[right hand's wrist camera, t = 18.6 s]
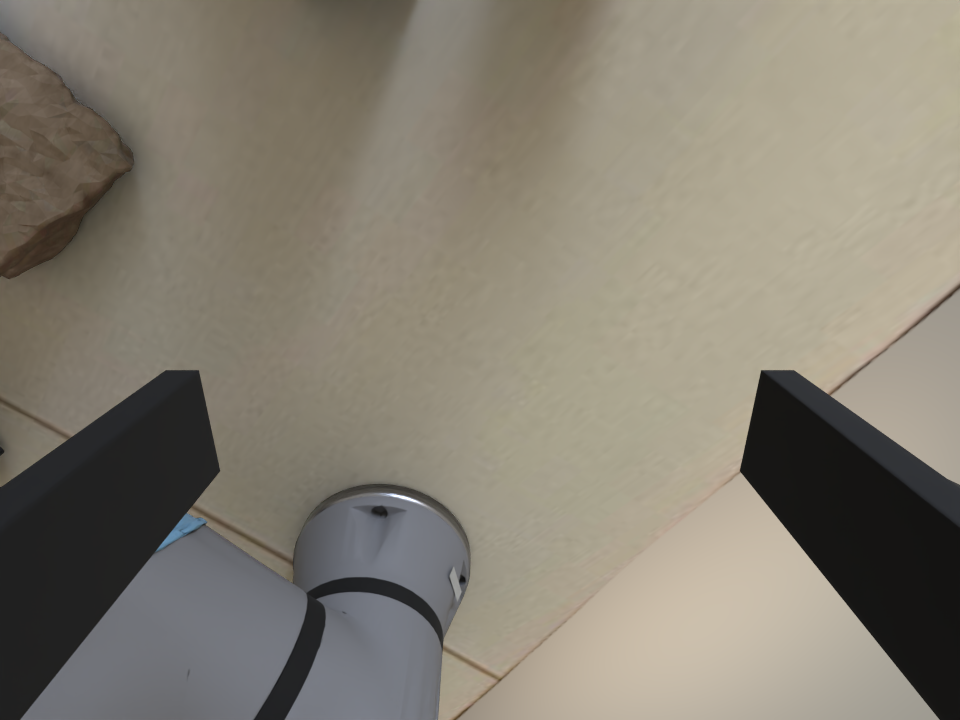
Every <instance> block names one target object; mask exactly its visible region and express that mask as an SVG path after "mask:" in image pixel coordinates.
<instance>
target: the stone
mask: <svg viewBox="0 0 960 720" xmlns="http://www.w3.org/2000/svg"><path fill="white" fill-rule="evenodd" d="M133 165H134V162H133V153H132V151H131V150H130V148H129V147H128V146H126V145H125V144H124V143H122V142H121V139H120V137H119V135H118V134H117V133H116V131H115V130H114V129H113V128H112V127H111V126H110V124H109V123H108V122H107V121H106V120H104V119H103V118H102V117H101V116H99V115H98V114H96V113H95V112H94V111H93V110H92V109H90V108H88V107H86V106H84V105H82V104H80V103H78V102H77V101H76V99H75V97H74V96H73V94H72V93H71V91H70V90H69V89H68V88H67V87H66V86H65V85H64V83H63V81H62V79H61V77H60V76H59V75H57V74H56V73H55V72H53V71H52V70H51V69H49V68H48V67H46V66H45V65H43V64H41V63H39V62H37V61H35V60H33V59H32V58H30V57H29V56H28V55H27V54H25V53H24V52H23V51H22V50H21V49H19V48H18V47H16V46H15V45H14V44H12V43H11V42H10V41H9V40H8V38H7V37H6V36H5V35H3V34H2V33H1V32H0V277H1V276H4V277H6V278H8V279H11V278H13V277H16V276H18V275H20V274H21V273H23V272H25V271H27V270H28V269H30V268H32V267H34V266H36V265H38V264H40V263H43V262H45V261H47V260H50V259H52V258H53V257H55V256H56V255H57V254H58V253H59V252H60V251H61V250H62V249H64V247H65V246H66V245H67V244H68V243H69V242H70V241H71V240H72V238H73V236H74V235H75V234H76V233H77V231H78V228H79V225H80V222H81V220H82V218H83V216H84V214H85V213H86V212H88V211H89V210H90V209H91V208H92V207H93V206H94V205H95V204H96V203H97V202H98V200H99V199H100V198H101V197H102V196H103V195H104V194H105V193H106V192H107V191H108V190H109V189H110V188H111V187H112V184H113V182H114V181H115V180H116V179H118V178H120V177H121V176H122V175H123V174H124V173H125V172H128V171H130V170H131V168H132V167H133Z"/></svg>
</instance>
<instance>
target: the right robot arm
mask: <svg viewBox="0 0 960 720" xmlns="http://www.w3.org/2000/svg"><path fill="white" fill-rule="evenodd" d="M219 472H220V468H219V463H218V459H217V454H216V449H215V445H214V440H213V435H212V430H211V426H210V421H209V416H208V412H207V407H206V402H205V397H204V393H203V388H202V383H201V379H200V374H199V370H166V371H164V372H163V373H162V374H160V375H159V376H157V377H156V378H154V379H153V380H152V381H150V382H149V383H147V384H146V385H145V386H143V387H142V388H140V389H139V390H138V391H136V392H135V393H133V394H132V395H131V396H129V397H128V398H126V399H125V400H123V401H122V402H121V403H119V404H118V405H116V406H115V407H114V408H112V409H111V410H109V411H108V412H107V413H105V414H104V415H102V416H101V417H100V418H98V419H97V420H95V421H94V422H92V423H91V424H90V425H88V426H87V427H85V428H84V429H83V430H81V431H80V432H78V433H77V434H76V435H74V436H73V437H71V438H70V439H69V440H67V441H66V442H64V443H63V444H61V445H60V446H59V447H57V448H56V449H54V450H53V451H52V452H50V453H49V454H47V455H46V456H45V457H43V458H42V459H40V460H39V461H38V462H36V463H35V464H33V465H32V466H30V467H29V468H28V469H26V470H25V471H23V472H22V473H21V474H19V475H18V476H16V477H15V478H14V479H12V480H11V481H9V482H8V483H6V484H5V485H4V486H2V487H0V720H438V712H439V696H440V681H441V666H442V650H443V640H444V637H445V634H446V632H447V630H448V628H449V626H450V624H451V622H452V620H453V618H454V615H455V613H456V611H457V609H458V607H459V605H460V603H461V600H462V598H463V596H464V594H465V591H466V588H467V585H468V582H469V576H470V547H469V543H468V539H467V536H466V534H465V532H464V530H463V528H462V526H461V525H460V523H459V522H458V520H457V519H456V518H455V517H454V515H453V514H452V513H451V512H450V511H449V510H448V509H446V508H445V507H444V506H443V505H442V504H440V503H439V502H437V501H436V500H434V499H432V498H431V497H429V496H427V495H425V494H423V493H420V492H418V491H415V490H412V489H409V488H405V487H401V486H395V485H386V484H372V485H363V486H357V487H353V488H349V489H346V490H344V491H341V492H339V493H337V494H334V495H333V496H331V497H329V498H328V499H326V500H325V501H323V502H322V503H321V504H320V505H319V506H318V507H316V508H315V510H314V511H313V512H312V513H311V514H310V516H309V517H308V519H307V521H306V522H305V524H304V526H303V528H302V531H301V533H300V535H299V537H298V540H297V542H296V546H295V550H294V558H293V570H294V575H293V583H291V582H290V581H288V580H287V579H285V578H284V577H282V576H280V575H279V574H277V573H276V572H274V571H273V570H271V569H270V568H268V567H267V566H265V565H264V564H262V563H261V562H259V561H258V560H256V559H255V558H253V557H252V556H250V555H249V554H247V553H246V552H244V551H243V550H241V549H240V548H239V547H237V546H236V545H234V544H233V543H231V542H230V541H228V540H227V539H225V538H224V537H222V536H221V535H219V534H218V533H216V532H215V531H213V530H212V529H211V528H209V527H208V526H206V525H205V524H206V523H207V521H206V520H204V519H203V518H194V517H193V516H191V515H189V514H188V513H187V512H188V510H189V509H190V508H191V507H192V505H193V504H194V503H195V502H196V500H197V499H198V498H199V497H200V495H201V494H202V493H203V492H204V490H205V489H206V488H207V487H208V485H209V484H210V483H211V482H212V480H213V479H214V478H215V477H216V475H217V474H218V473H219ZM740 472H741V473H742V474H743V475H744V477H745V478H746V479H747V480H748V482H749V483H750V484H751V485H752V487H753V488H754V489H755V490H756V492H757V493H758V494H759V495H760V497H761V498H762V499H763V500H764V502H765V503H766V504H767V505H768V507H769V508H770V509H771V510H772V512H773V513H774V514H775V515H776V517H777V518H778V519H779V520H780V522H781V523H782V524H783V525H784V527H785V528H786V529H787V530H788V531H789V533H790V534H791V535H792V536H793V538H794V539H795V540H796V541H797V543H798V544H799V545H800V546H801V548H802V549H803V550H804V551H805V553H806V554H807V555H808V556H809V558H810V559H811V560H812V561H813V563H814V564H815V565H816V566H817V568H818V569H819V570H820V571H821V573H822V574H823V575H824V576H825V578H826V579H827V580H828V581H829V583H830V584H831V585H832V586H833V588H834V589H835V590H836V591H837V592H838V594H839V595H840V596H841V597H842V599H843V600H844V601H845V602H846V604H847V605H848V606H849V607H850V609H851V610H852V611H853V612H854V614H855V615H856V616H857V617H858V619H859V620H860V621H861V622H862V624H863V625H864V626H865V627H866V629H867V630H868V631H869V632H870V633H871V635H872V636H873V637H874V638H875V640H876V641H877V642H878V644H879V645H880V646H881V647H882V649H883V650H884V651H885V652H886V653H887V655H888V656H889V657H890V658H891V660H892V661H893V662H894V663H895V665H896V666H897V667H898V668H899V670H900V671H901V672H902V673H903V675H904V676H905V677H906V678H907V680H908V681H909V682H910V683H911V685H912V686H913V687H914V688H915V690H916V691H917V692H918V693H919V695H920V696H921V697H922V698H923V700H924V701H925V702H926V703H927V705H928V706H929V707H930V708H931V709H932V711H933V712H934V713H935V714H936V716H937V717H938V718H939V719H940V720H960V485H959V484H957V483H955V482H952V481H950V480H948V479H946V478H945V477H944V476H942V475H941V474H939V473H938V472H937V471H935V470H934V469H932V468H931V467H929V466H928V465H927V464H925V463H924V462H922V461H921V460H920V459H918V458H917V457H915V456H914V455H913V454H911V453H910V452H908V451H907V450H906V449H904V448H903V447H901V446H900V445H898V444H897V443H896V442H894V441H893V440H891V439H890V438H889V437H887V436H886V435H884V434H883V433H882V432H880V431H879V430H877V429H876V428H875V427H873V426H872V425H870V424H869V423H868V422H866V421H865V420H863V419H862V418H860V417H859V416H858V415H856V414H855V413H853V412H852V411H851V410H849V409H848V408H846V407H845V406H844V405H842V404H841V403H839V402H838V401H837V400H835V399H834V398H832V397H831V396H829V395H828V394H827V393H825V392H824V391H822V390H821V389H820V388H818V387H817V386H815V385H814V384H813V383H811V382H810V381H808V380H807V379H806V378H804V377H803V376H801V375H800V374H798V373H797V372H796V371H794V370H761V374H760V379H759V383H758V388H757V393H756V397H755V402H754V407H753V412H752V416H751V421H750V426H749V430H748V435H747V440H746V445H745V449H744V454H743V459H742V463H741V468H740Z"/></svg>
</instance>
